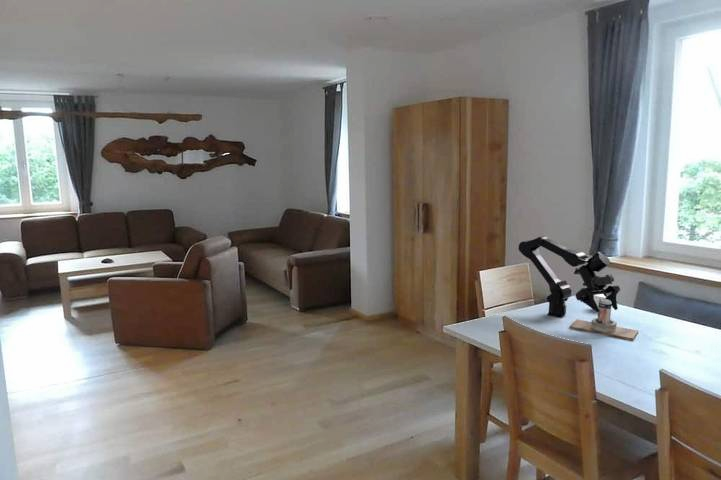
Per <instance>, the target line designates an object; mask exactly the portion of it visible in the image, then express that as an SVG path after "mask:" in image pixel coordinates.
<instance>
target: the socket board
mask: <svg viewBox="0 0 721 480" xmlns="http://www.w3.org/2000/svg"><path fill="white" fill-rule="evenodd" d="M597 319H598V317H595V318H592V320H591V321H587V320H583V319H576V320H574V321H573V322H572V323H571V324H570V325H569V329H571V330H576V331H580V332H585V333H591V334H594V335H595V334H596V335H602V336H605V337H606V336H607V337H611V338H616V339H621V340H627V341H632V342H633V341H634V340H635V339H636V337H637V336H638V334H639V330H636V329H632V328H627V327H626V328H625V327H621V326H617V324H618V323H617V321H615V320H613V319H611V318H610V324H601V323H598V322H597Z"/></svg>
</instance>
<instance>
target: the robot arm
mask: <svg viewBox="0 0 721 480" xmlns="http://www.w3.org/2000/svg"><path fill="white" fill-rule="evenodd" d="M540 247H542V248H543V249H545V250H548V251H550V252H551V253H554V254H556V255H557V256H559V257H561V258H562V259H563V260H564V262H565V263H567V264H568V265H569V266H571V267H576V268H575V269H574V273H573V274H574V275H579V276H580V277H581V279H582V282H583V283H582V286H583V287H584V288H580V289H579V290H578V291H577V292H576V293H575V300H577V301H580V302H581V303H583V304H585V305H587V306H588V307H589V308H591V309H592V310H593V311H595V312H596V313H598V312H599V309H598V306H597V304H596V302H595V300H594V295H599V294H604V296H606V298H605V299H608V300H611V303H612V304H611V308H613V309H614V310H615V311H617V310H618V302H617V295H618V294H619V292H620V291H621V288H620V286H619V285H618V284H613V283H614V282H615V278H614V276H613V274H611V273H609V274H606V275H605V276H600V275H597V274H596V272H597V273H600V272H601V271H603V270H604V269H606V268H607V267H609V265H611V260H610V258H608V256H606V255H605V254H603V253H602V252H601V251H597V252H595V254H594V255H592V256H589V255H586V253H584V252H582V251H579V250H576V249H571V248H568V247H566V246H564V245H562V244H561V243H558V242H557V241H554V240H552V239H550V238H549V237H548V236H544V235H543V236H538V237H537V238H534V239H530V240H525V241H521V242H519V244H518V248H517V249H518V251H519V252H520V253H521V255H523V256H524V257H525V258H526V259H529V260H530V262H532V264H533V265H534V266H535V268H536V269H537V270H538V272H539V273H540V274H541V276H542V277H543V279H544V280H545V281H546V283H547V284H548V286H549V292H550V294H549V295H548V296H547V297H546V301H547V303H548V312H547V315H548V316H553V317H556V318H557V317H558V318H563V317H564V316H565V315H566V314H567V305H566V302H567V301H568V300H569V298H570V297H571V296H572V289H571V286H570V285H569V284H568V282H567V281H566V279H563V280H561V279H559V278H558V276H556V274H555V273H554V271H553V270H552V269H551V268H550V266H549V265H548V263H547V262H546V261H545V259H544V258H543V257H542V255H541V254H540V253H541V252H540V249H539V248H540ZM577 267H578V268H577ZM607 285H608V286H607Z"/></svg>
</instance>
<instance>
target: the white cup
mask: <svg viewBox="0 0 721 480" xmlns="http://www.w3.org/2000/svg"><path fill="white" fill-rule="evenodd" d="M605 298H606V296H604V294H599V295H594V300H595V302H596V304H597V306H598V308H599V301H600V299H605Z"/></svg>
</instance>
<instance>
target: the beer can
mask: <svg viewBox="0 0 721 480" xmlns="http://www.w3.org/2000/svg"><path fill="white" fill-rule="evenodd" d="M611 304H612V303H611V300H608V299H600V301H599V308H598V309H599V312H597V318H598V319H597V322H598V323H601V324H610V319H611V315H612V314H611V313H612V306H611Z"/></svg>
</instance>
